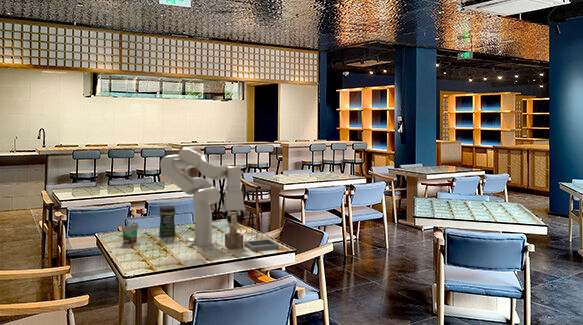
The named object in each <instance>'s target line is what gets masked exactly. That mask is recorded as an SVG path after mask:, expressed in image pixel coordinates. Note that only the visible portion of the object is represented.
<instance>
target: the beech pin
mask: <svg viewBox="0 0 583 325" xmlns="http://www.w3.org/2000/svg"><path fill="white" fill-rule="evenodd" d="M230 216H231V223H229V233H230V236H237V232H238V222H237V211H231V212H230Z"/></svg>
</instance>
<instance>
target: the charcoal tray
mask: <svg viewBox="0 0 583 325" xmlns="http://www.w3.org/2000/svg"><path fill="white" fill-rule="evenodd" d="M243 246H245V247H246V248H247V249H249V250H250V251H252V252H256V251H267V250H277V249H279V248H280V247H279V246H280V244H278V243H276V242H275V241H273V240H272V239H269V238H267V239H257V240H248V241H243ZM279 250H280V249H279Z"/></svg>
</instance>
